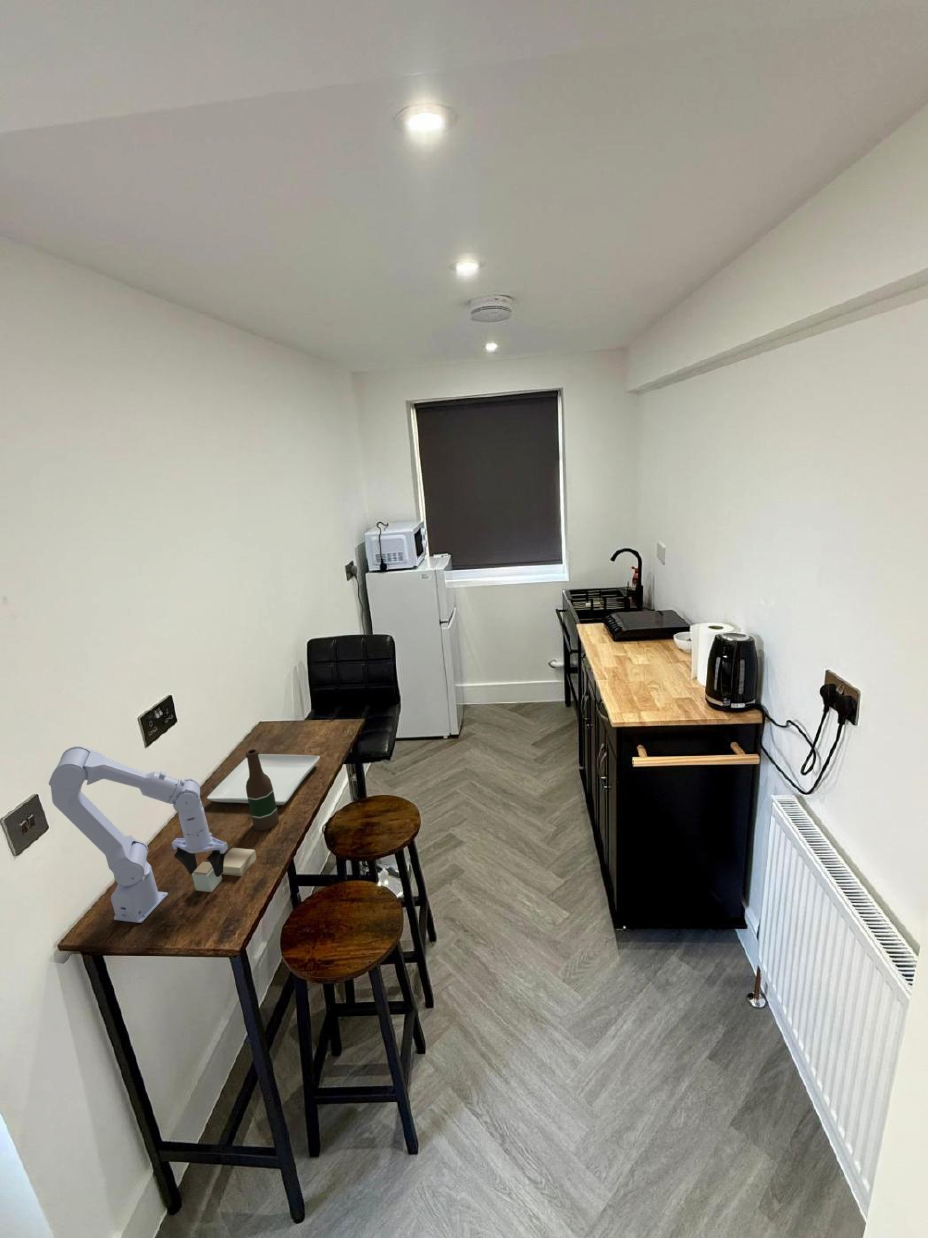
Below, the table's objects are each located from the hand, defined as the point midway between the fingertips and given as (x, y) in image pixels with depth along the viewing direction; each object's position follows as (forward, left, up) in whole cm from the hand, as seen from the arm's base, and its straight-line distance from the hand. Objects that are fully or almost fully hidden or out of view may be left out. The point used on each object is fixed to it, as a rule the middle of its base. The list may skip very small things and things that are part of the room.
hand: (206, 873), depth 150 cm
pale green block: (0, 0, -4) cm, 4 cm away
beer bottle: (+25, -1, -4) cm, 26 cm away
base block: (+7, -3, -4) cm, 9 cm away
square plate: (+45, +10, -4) cm, 46 cm away
